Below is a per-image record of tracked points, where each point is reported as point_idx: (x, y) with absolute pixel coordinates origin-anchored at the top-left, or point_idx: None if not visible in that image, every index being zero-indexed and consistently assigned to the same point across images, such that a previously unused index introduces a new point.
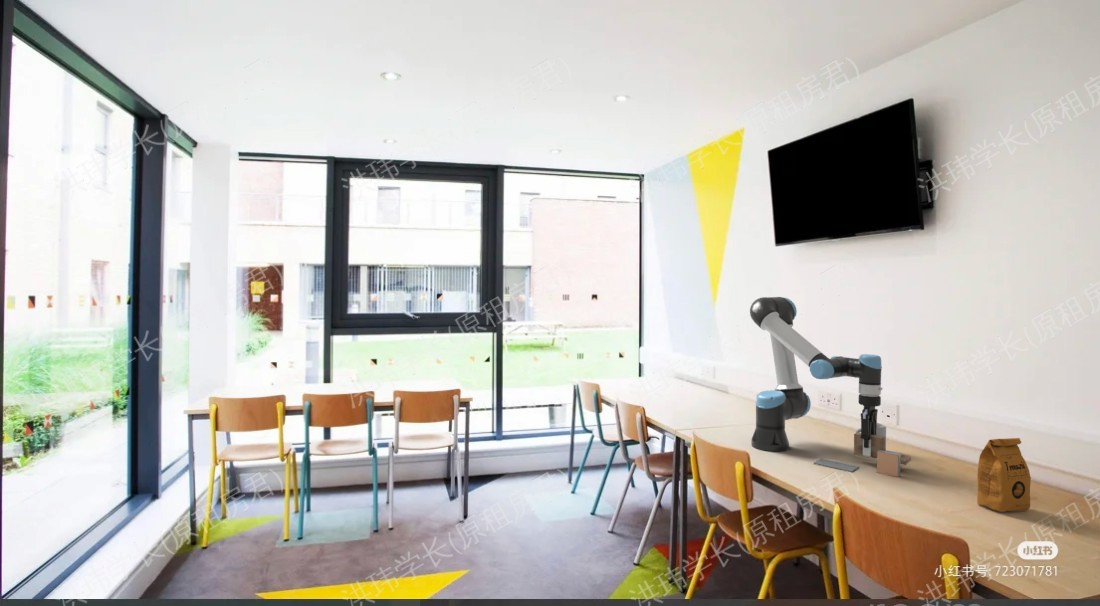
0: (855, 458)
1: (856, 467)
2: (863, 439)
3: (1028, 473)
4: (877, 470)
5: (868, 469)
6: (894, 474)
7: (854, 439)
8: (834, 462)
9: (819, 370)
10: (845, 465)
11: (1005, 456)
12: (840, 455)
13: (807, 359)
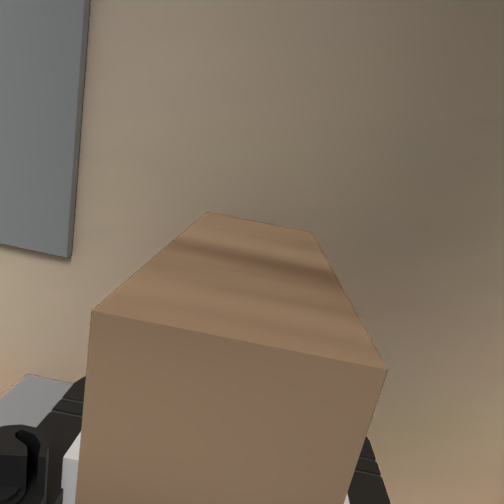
0: (354, 201)
1: (17, 240)
2: (71, 452)
3: None
4: (10, 389)
5: (67, 320)
6: None
7: (152, 267)
8: (35, 33)
9: None
10: (7, 148)
11: None
12: (397, 49)
13: None
